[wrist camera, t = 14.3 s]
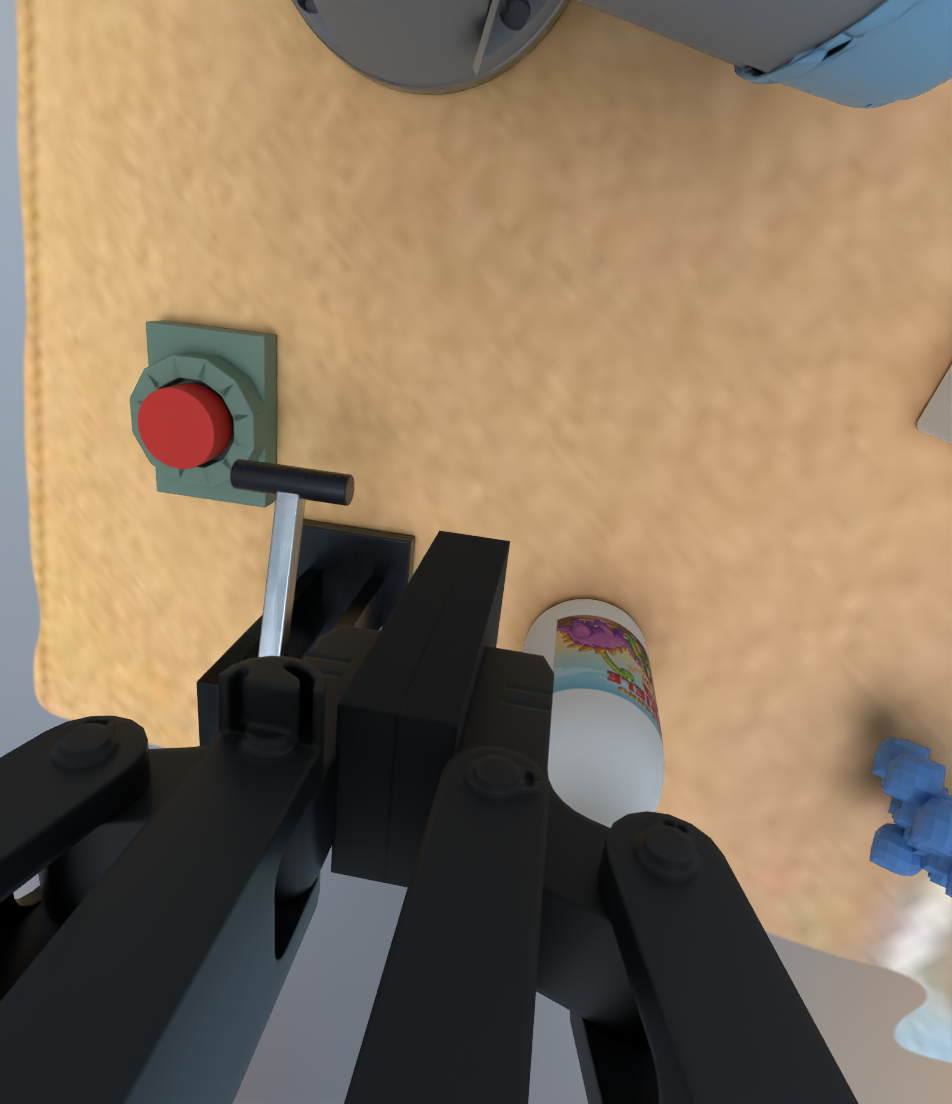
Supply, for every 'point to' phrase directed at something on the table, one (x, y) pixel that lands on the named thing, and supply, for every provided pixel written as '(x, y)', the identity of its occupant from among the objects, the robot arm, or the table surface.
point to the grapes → (914, 813)
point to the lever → (286, 534)
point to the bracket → (324, 598)
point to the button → (184, 425)
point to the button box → (237, 379)
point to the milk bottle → (600, 710)
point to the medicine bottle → (939, 411)
